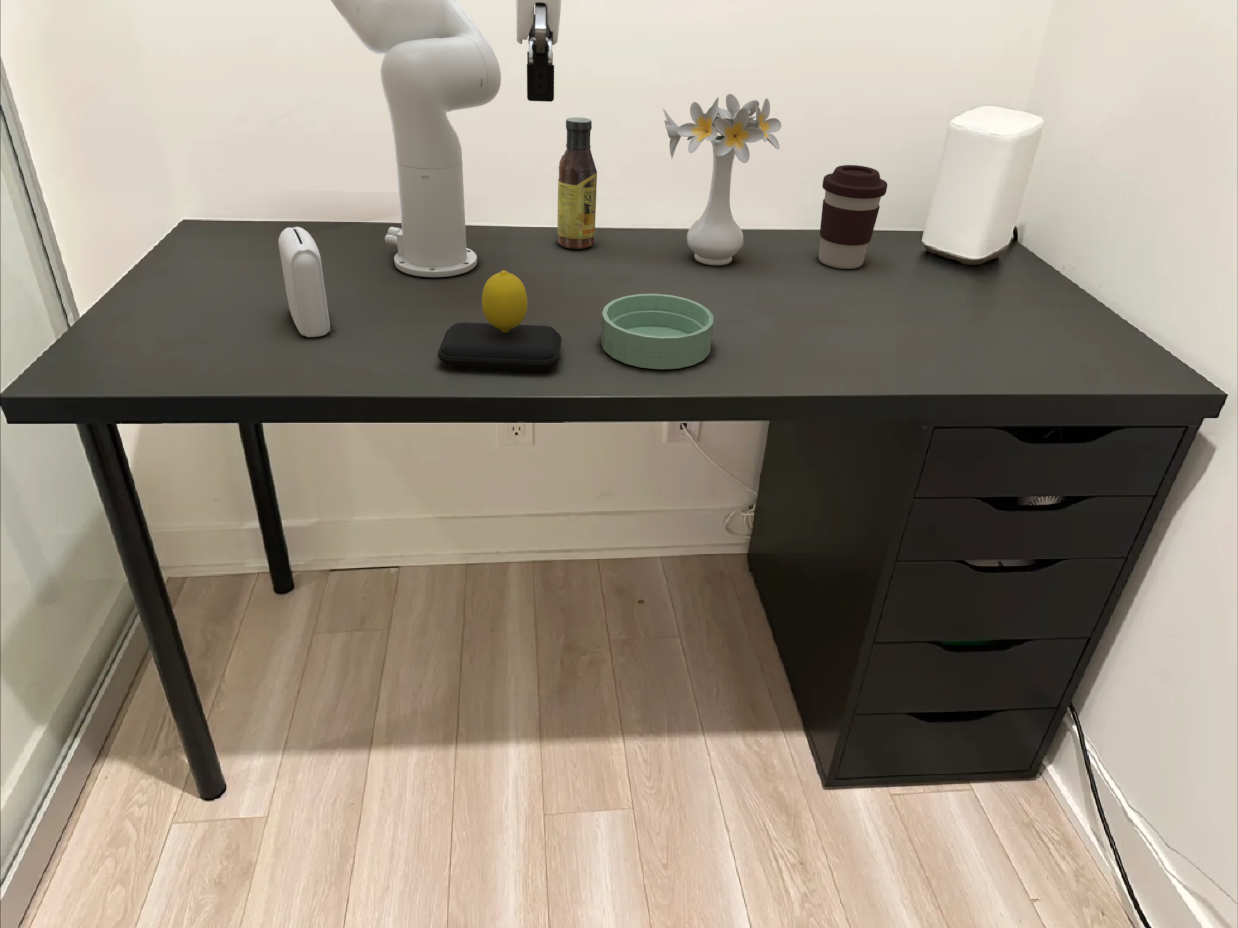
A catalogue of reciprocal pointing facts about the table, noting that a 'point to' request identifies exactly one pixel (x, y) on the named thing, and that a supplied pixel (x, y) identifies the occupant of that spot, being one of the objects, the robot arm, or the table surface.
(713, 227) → the flower vase
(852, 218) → the coffee cup
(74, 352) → the table surface
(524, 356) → the carrying case
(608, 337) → the fruit bowl
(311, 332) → the photo printer
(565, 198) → the sauce bottle
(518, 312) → the lemon
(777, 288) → the table surface
